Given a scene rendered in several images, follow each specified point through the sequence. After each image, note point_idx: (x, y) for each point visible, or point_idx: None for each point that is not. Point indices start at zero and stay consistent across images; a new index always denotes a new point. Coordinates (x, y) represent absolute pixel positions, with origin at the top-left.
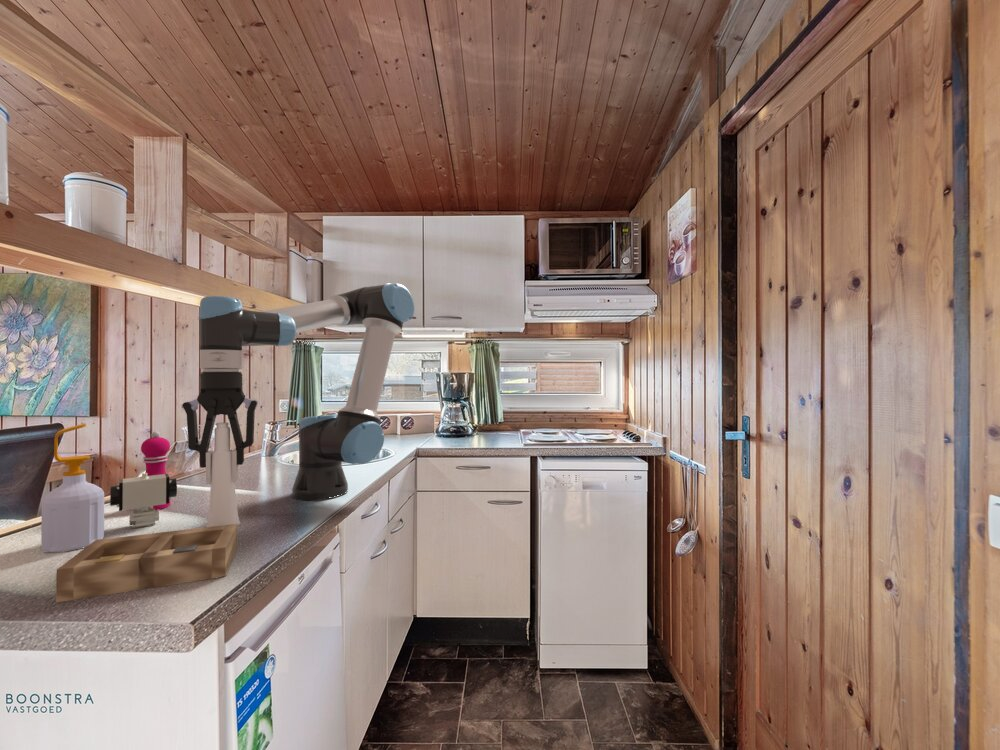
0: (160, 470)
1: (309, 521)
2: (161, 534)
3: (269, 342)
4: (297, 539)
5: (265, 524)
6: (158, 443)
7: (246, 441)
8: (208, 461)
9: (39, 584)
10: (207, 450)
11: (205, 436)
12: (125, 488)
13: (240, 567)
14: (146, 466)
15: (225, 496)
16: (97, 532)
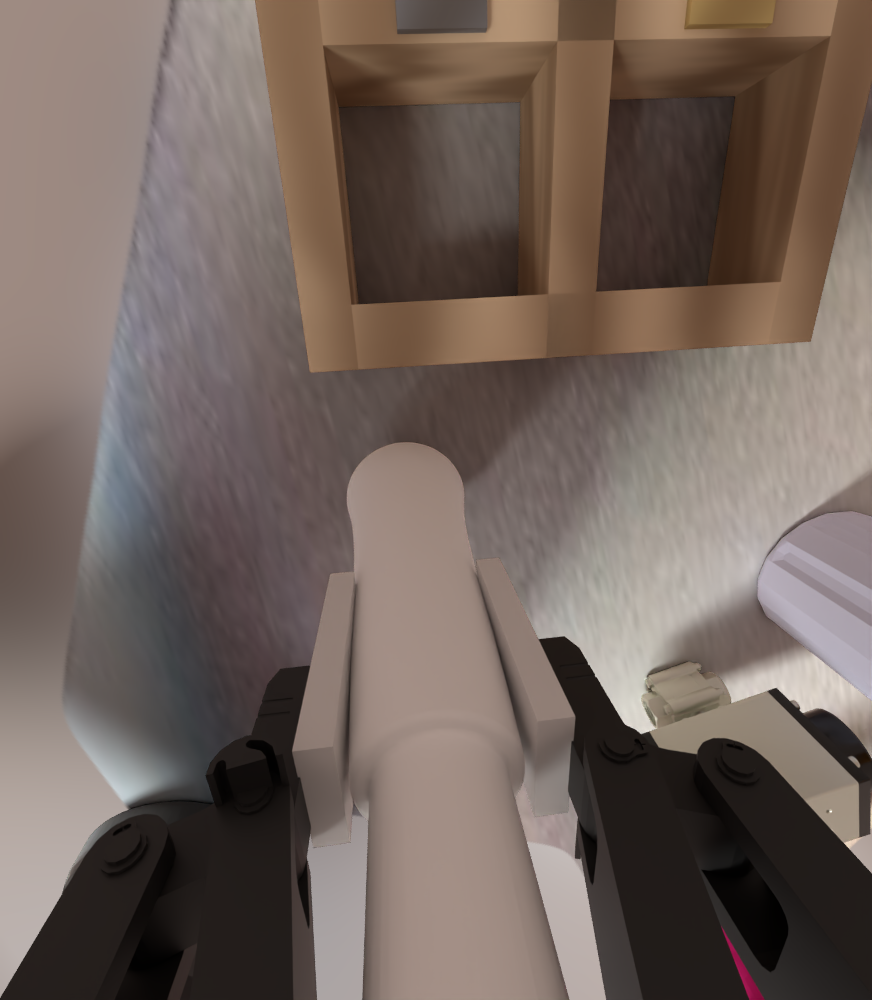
0: (736, 959)
1: (130, 588)
2: (595, 323)
3: None
4: (111, 391)
5: (295, 597)
6: None
7: (140, 883)
8: (525, 655)
9: (853, 242)
10: (574, 779)
11: (677, 931)
12: (825, 761)
13: (250, 126)
14: None
15: (387, 512)
16: (790, 573)
